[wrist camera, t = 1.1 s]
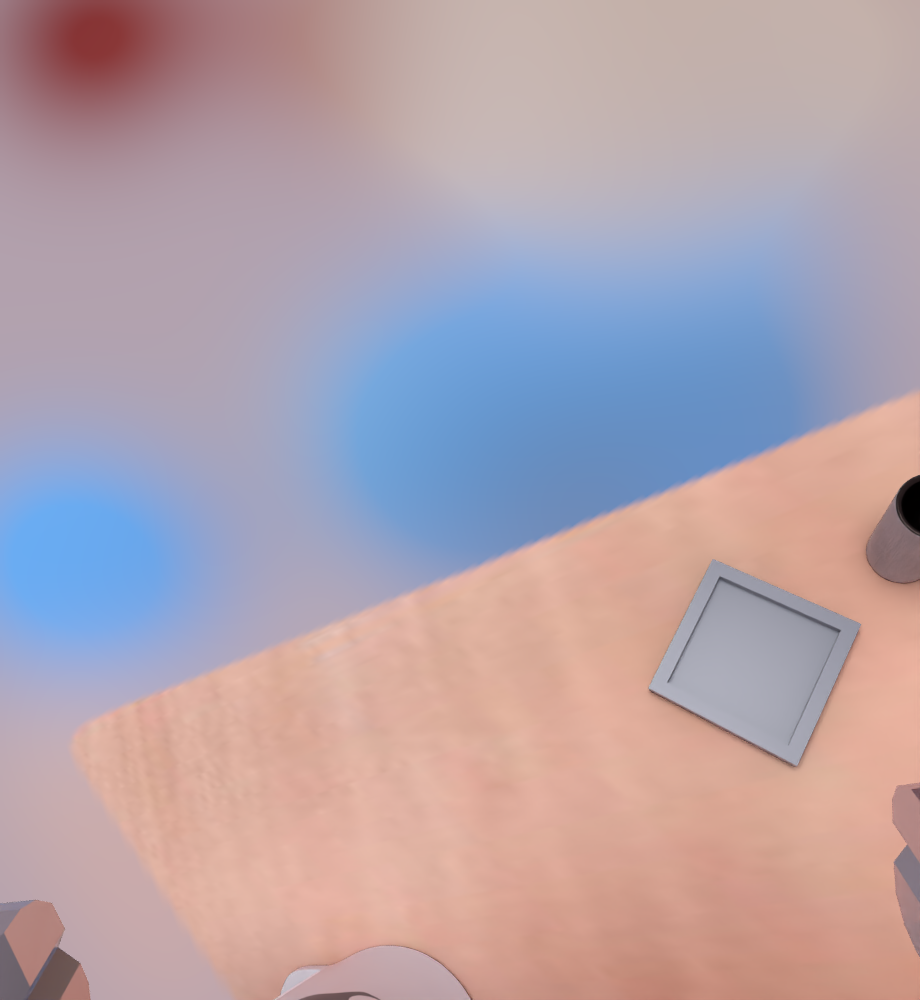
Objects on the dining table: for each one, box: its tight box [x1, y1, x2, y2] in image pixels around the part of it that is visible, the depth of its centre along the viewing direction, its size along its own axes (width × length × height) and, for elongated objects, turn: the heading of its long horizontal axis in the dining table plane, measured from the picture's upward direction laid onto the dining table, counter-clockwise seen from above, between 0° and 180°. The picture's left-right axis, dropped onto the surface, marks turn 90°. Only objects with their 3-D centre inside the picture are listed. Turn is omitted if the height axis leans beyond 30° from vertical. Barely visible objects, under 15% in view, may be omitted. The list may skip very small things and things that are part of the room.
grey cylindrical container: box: [866, 475, 920, 583], centre depth 54 cm, size 4×4×10 cm
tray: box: [649, 559, 861, 767], centre depth 59 cm, size 11×11×2 cm
